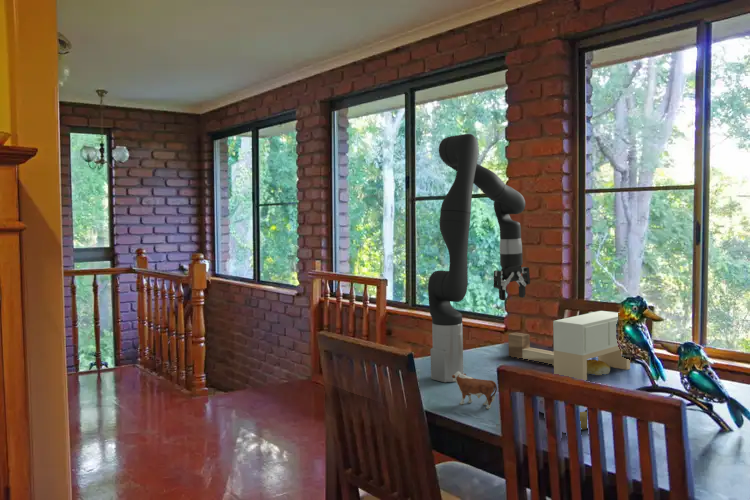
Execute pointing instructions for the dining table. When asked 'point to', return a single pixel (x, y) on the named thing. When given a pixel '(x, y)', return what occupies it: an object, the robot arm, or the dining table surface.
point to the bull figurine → (475, 388)
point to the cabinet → (586, 343)
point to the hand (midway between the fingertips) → (512, 298)
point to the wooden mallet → (527, 349)
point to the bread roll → (597, 367)
